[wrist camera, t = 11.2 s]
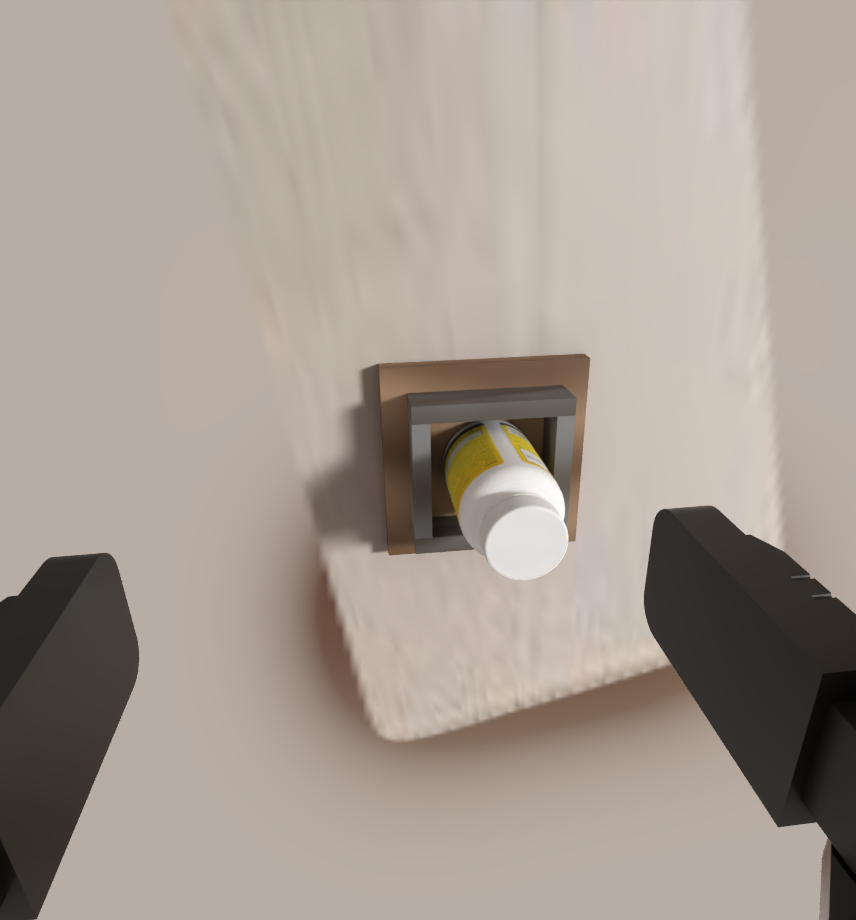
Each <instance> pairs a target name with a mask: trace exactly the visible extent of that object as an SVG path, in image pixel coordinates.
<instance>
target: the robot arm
mask: <svg viewBox="0 0 856 920" xmlns="http://www.w3.org/2000/svg"><path fill="white" fill-rule="evenodd" d="M644 608H645V614H646V619H647V622H648V625H649V628H650V630H651V632H652V634H653V636H654V638H655V639H656V641H657V642H658V644H659V645H660V647H661V648H662V650H663V652H664V653H665V655H666V656H667V658H668V659H669V661H670V662H671V664H672V665H673V667H674V668H675V670H676V671H677V673H678V674H679V676H680V677H681V679H682V680H683V682H684V684H685V685H686V687H687V688H688V690H689V691H690V693H691V694H692V696H693V697H694V699H695V701H696V702H697V704H698V705H699V707H700V708H701V710H702V711H703V713H704V714H705V716H706V717H707V719H708V720H709V722H710V723H711V725H712V726H713V728H714V730H715V731H716V733H717V734H718V736H719V737H720V739H721V740H722V742H723V743H724V745H725V747H726V748H727V750H728V751H729V753H730V754H731V756H732V757H733V759H734V760H735V762H736V763H737V765H738V766H739V768H740V769H741V771H742V773H743V774H744V776H745V777H746V779H747V780H748V782H749V783H750V785H751V786H752V788H753V789H754V791H755V792H756V794H757V795H758V797H759V799H760V800H761V802H762V803H763V804H764V806H765V808H766V809H767V811H768V812H769V814H770V815H771V817H772V818H773V820H774V822H775V823H776V824H777V826H778V827H784V826H791V825H799V824H807V823H815V822H817V823H818V825H819V826H820V827H821V828H822V830H823V831H824V833H825V834H826V835H827V837H828V839H827V842H826V845H825V848H824V851H823V857H822V871H821V894H820V915H819V920H856V614H855V613H853V612H852V611H851V610H850V609H849V608H848V607H847V606H845V605H844V604H843V603H842V602H841V601H840V600H839V599H837V598H832V597H831V592H829V591H828V590H827V589H826V588H825V587H824V586H823V585H821V584H820V583H819V582H818V581H817V580H816V579H810V574H809V573H808V572H807V571H806V570H804V569H803V568H802V567H801V566H800V565H799V564H797V563H796V562H795V561H794V560H793V559H792V558H791V557H789V556H788V555H787V554H786V553H785V552H783V551H781V550H779V549H777V548H776V547H774V546H772V545H770V544H768V543H766V542H764V541H762V540H760V539H758V538H756V537H754V536H752V535H745V534H744V533H743V532H742V531H741V530H740V529H739V528H737V527H736V526H735V525H734V524H733V523H732V522H731V521H730V520H729V519H728V518H727V517H725V516H724V515H723V514H722V513H721V512H720V511H719V510H718V509H716V508H715V507H713V506H697V507H685V508H673V509H663V510H661V511H659V512H658V514H657V515H656V517H655V520H654V525H653V531H652V539H651V546H650V554H649V561H648V568H647V576H646V583H645V591H644ZM138 665H139V648H138V641H137V636H136V633H135V629H134V625H133V622H132V618H131V614H130V610H129V607H128V603H127V600H126V596H125V592H124V588H123V585H122V581H121V577H120V573H119V570H118V567H117V564H116V562H115V560H114V558H113V557H112V556H111V555H110V554H108V553H99V554H87V555H75V556H63V557H62V556H61V557H52V558H49V559H47V560H46V561H45V562H44V563H43V564H42V566H41V567H40V568H39V569H38V571H37V572H36V573H35V575H34V576H33V577H32V578H31V580H30V581H29V582H28V584H27V585H26V586H25V587H24V589H23V590H22V591H21V593H20V594H19V595H18V596H11V597H7V598H6V599H4V600H3V601H1V602H0V920H34V919H37V917H38V915H39V912H40V910H41V908H42V905H43V903H44V900H45V898H46V895H47V893H48V891H49V889H50V886H51V884H52V881H53V879H54V877H55V874H56V872H57V869H58V867H59V865H60V862H61V859H62V857H63V855H64V853H65V850H66V848H67V845H68V843H69V841H70V838H71V836H72V833H73V831H74V829H75V826H76V824H77V822H78V819H79V817H80V814H81V812H82V809H83V807H84V805H85V802H86V800H87V798H88V795H89V793H90V790H91V788H92V785H93V783H94V781H95V778H96V776H97V774H98V771H99V769H100V766H101V764H102V762H103V759H104V757H105V755H106V752H107V750H108V747H109V745H110V742H111V740H112V738H113V735H114V733H115V731H116V728H117V726H118V723H119V721H120V719H121V716H122V714H123V711H124V709H125V707H126V704H127V702H128V699H129V697H130V695H131V692H132V690H133V688H134V685H135V682H136V678H137V673H138Z"/></svg>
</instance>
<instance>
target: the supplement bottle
mask: <svg viewBox="0 0 856 920" xmlns="http://www.w3.org/2000/svg"><path fill="white" fill-rule="evenodd" d="M443 472H444V477H445V481H446V484H447V487H448V490H449V494H450V496H451V500H452V503H453V506H454V509H455V512H456V515H457V518H458V522H459V525H460V528H461V530H462V533H463V535H464V537H465V538H466V540H467V542H468V543H469V544H470V545H471V546H472V548H474V549H475V550H476V551H477V552H478V553H480V554H481V555H483V556H485V557H486V560H487V562H488V563H489V565H490V566H491V568H492V569H493V570H494V571H496V572H497V573H498V574H500V575H501V576H504V577H506V578H509V579H513V580H530V579H534V578H538V577H540V576H542V575H545V574H546V573H548V572H550V571H551V570H552V569H554V568H555V567H556V566H557V565H558V564H559V562H560V561H561V560H562V558H563V556H564V554H565V552H566V550H567V546H568V531H567V527H566V525H565V523H564V516H565V503H564V498H563V494H562V492H561V490H560V488H559V486H558V484H557V482H556V481H555V479H554V478H553V476H552V475H551V473H550V472H549V470H548V469H547V467H546V466H545V464H544V463H543V462H542V460H541V459H540V457H539V456H538V454H537V453H536V451H535V450H534V448H533V447H532V445H531V444H530V442H529V441H528V439H527V438H526V437H525V435H524V434H523V433H522V432H521V431H520V430H519V429H518V428H516V427H515V426H513V425H512V424H510V423H507V422H505V421H501V420H490V421H476V422H473V423H471V424H469V425H467V426H465V427H463V428H462V429H461V430H459V431H458V432H457V433H456V434H455V435H454V436H453V437H452V439H451V440H450V442H449V443H448V445H447V447H446V450H445V453H444V457H443Z"/></svg>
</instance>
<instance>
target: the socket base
mask: <svg viewBox="0 0 856 920" xmlns="http://www.w3.org/2000/svg"><path fill="white" fill-rule="evenodd" d="M378 365H379V384H380V403H381V423H382V442H383V461H384V481H385V500H386V519H387V539H388V552H389V555H399V554H412V553H416V554H420V553H433V552H446V551H459V550H472V549H474V548H472V546H471V545H470V544H469V543H468V542H467V540H466V538H465V537H464V535H463V533H462V530H461V528H460V525H459V522H458V518H457V515H456V512H455V509H454V506H453V503H452V500H451V496H450V494H449V490H448V487H447V484H446V481H445V477H444V472H443V457H444V453H445V450H446V447H447V445H448V443H449V442H450V440H451V439H452V437H453V436H454V435H455V434H456V433H457V432H458V431H459V430H461V429H462V428H463V427H465V426H467V425H469V424H471V423H473V422H476V421H490V420H501V421H505V422H507V423H510V424H512V425H513V426H515V427H516V428H518V429H519V430H520V431H521V432H522V433H523V434H524V435H525V437H526V438H527V439H528V441H529V442H530V444H531V445H532V447H533V448H534V450H535V451H536V453H537V454H538V456H539V457H540V459H541V460H542V462H543V463H544V464H545V466H546V467H547V469H548V470H549V472H550V473H551V475H552V476H553V478H554V479H555V481H556V482H557V484H558V486H559V488H560V490H561V492H562V494H563V498H564V503H565V516H564V523H565V525H566V527H567V531H568V542H569V541H575V537H576V525H577V513H578V500H579V488H580V476H581V463H582V451H583V439H584V427H585V414H586V402H587V390H588V378H589V365H590V358H589V357H588V356H586V355H585V354H572V355H551V356H530V357H510V358H489V359H469V360H448V361H427V362H407V363H386V364H378Z"/></svg>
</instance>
